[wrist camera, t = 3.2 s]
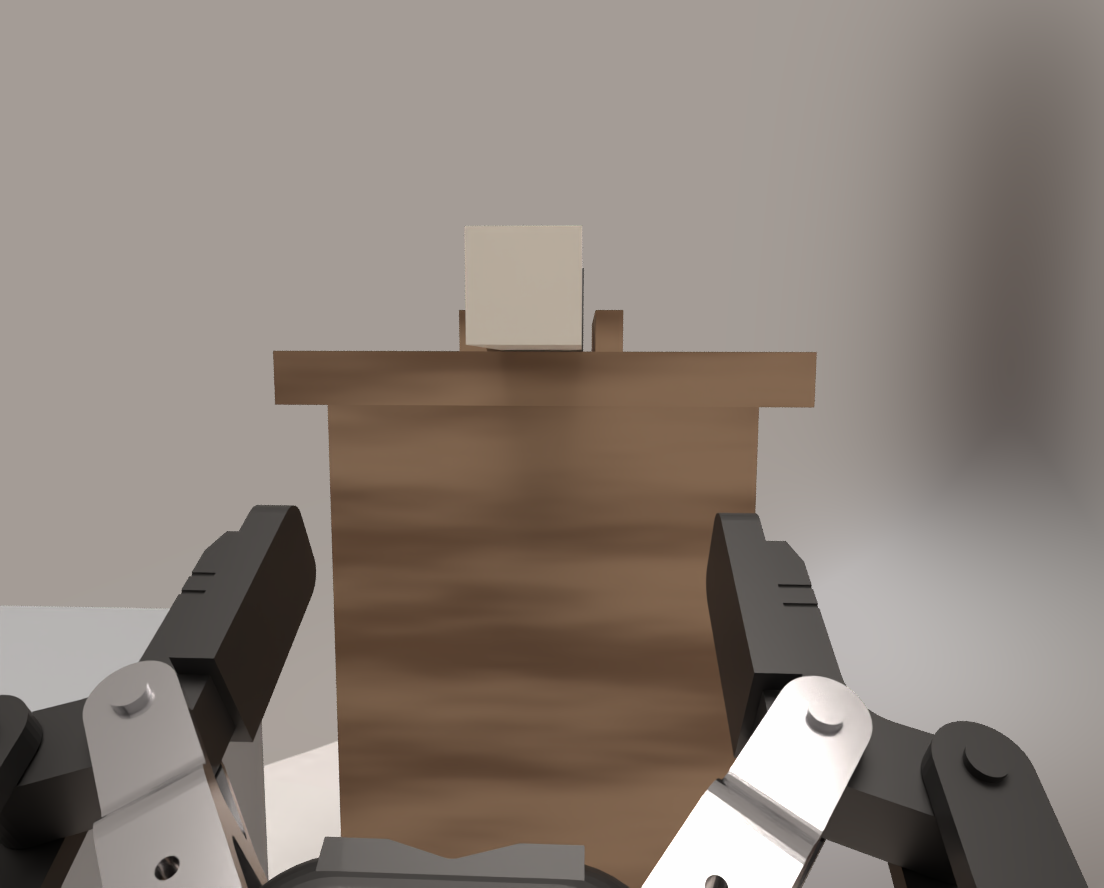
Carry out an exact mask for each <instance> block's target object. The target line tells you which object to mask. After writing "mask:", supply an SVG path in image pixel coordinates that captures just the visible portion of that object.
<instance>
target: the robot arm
mask: <svg viewBox="0 0 1104 888" xmlns="http://www.w3.org/2000/svg"><path fill="white" fill-rule="evenodd" d="M315 580H316V565H315V560H314V556H313V553H312V549H311V546H310V543H309V539H308V536H307V533H306V529H305V526H304V523H303V519H302V516H301V513H300V511H299V509H298V507H296V506H287V505H284V506H283V505H282V506H281V505H256V506H254V507H253V508H252V510H251V511H250V512H249V514H248V516H247V518H246V519H245V521H244V523H243V525H242V527H241V528H240V530H239V532H238V531H237V532H236V531H234V532H233V531H227V532H226V533H224V534H223V535H222V536H221V537H220V538H219V539H217V540H216V541H215V542H214V543H213V544H212V545H211V546H210V547H208V548H207V549H206V550H205V551H204V553H203V554H202V556H201V558H200V559H199V561H198V563H197V565H196V566H195V568H194V570H193V571H192V576H190V577H189V578H188V580H187V581H186V583H185V585H184V587H183V588H182V593H181V594H179V595H178V596H177V598H176V600H175V602H174V603H173V605H172V607H171V608H170V610H169V612H168V613H167V615H166V617H165V618H164V620H163V622H162V623H161V625H160V627H159V628H158V630H157V632H156V633H155V635H154V637H153V639H152V640H151V642H150V644H149V645H148V647H147V649H146V650H145V652H144V654H143V655H142V657H141V659H140V660H139V662H137V663H133V664H130V665H127V666H125V667H122V668H121V669H119V670H117V671H115V672H113V673H112V674H110V675H109V676H107V677H106V678H105V679H104V680H102V681H101V682H100V683H99V684H98V685H97V686H96V687H95V688H94V690H93V691H92V692H91V693H90V695H89V697H87V698H84V699H81V700H77V701H73V702H69V703H65V704H61V705H57V706H53V707H49V708H45V709H41V710H37V711H33V712H31V711H30V709H29V708H28V707H27V705H26V704H25V703H24V702H23V701H22V700H21V699H20V698H18V697H16V696H12V695H0V888H61V886H62V884H63V882H64V880H65V878H66V876H67V874H68V872H69V870H70V868H71V866H72V864H73V862H74V859H75V857H76V855H77V853H78V851H79V849H80V847H81V845H82V843H83V841H84V839H85V837H86V834H87V832H88V830H91V829H93V837H94V843H95V849H96V854H97V860H98V865H99V870H100V876H101V881H102V887H103V888H630V887H628V886H627V885H626V884H624V883H623V882H621V881H619V880H618V879H616V878H615V877H613V876H611V875H609V874H607V873H605V872H603V871H601V870H599V869H597V868H594V867H591V866H588V865H585V864H584V862H585V845H558V844H528V843H519V844H515V845H511V846H507V847H502V848H498V849H494V850H490V851H486V852H482V853H477V854H473V855H469V856H465V857H461V858H455V859H448V858H444V857H441V856H438V855H435V854H432V853H429V852H426V851H423V850H420V849H417V848H414V847H411V846H408V845H405V844H402V843H399V842H396V841H393V840H390V839H377V838H347V837H325V839H324V842H323V846H322V849H321V853H320V856H319V858H315V859H312V860H309V861H306V862H304V863H301V864H298V865H296V866H294V867H292V868H290V869H288V870H286V871H284V872H282V873H280V874H279V875H277V876H275V877H274V878H272V879H271V880H269V881H267V878H266V876H265V873H264V871H263V869H262V867H261V865H260V862H259V860H258V858H257V855H256V853H255V850H254V848H253V845H252V842H251V839H250V836H249V834H248V831H247V828H246V825H245V822H244V819H243V817H242V814H241V811H240V808H239V805H238V802H237V800H236V797H235V794H234V791H233V788H232V786H231V783H230V780H229V777H228V774H227V771H226V769H225V766H224V764H223V762H222V759H223V756H224V754H225V752H226V749H227V747H228V745H229V742H253V741H254V738H255V736H256V733H257V731H258V728H259V726H260V723H261V721H262V718H263V716H264V713H265V711H266V708H267V706H268V703H269V701H270V698H271V696H272V693H273V691H274V688H275V686H276V683H277V681H278V678H279V676H280V673H281V671H282V668H283V666H284V663H285V661H286V658H287V656H288V653H289V651H290V648H291V646H292V643H293V641H294V638H295V636H296V633H297V631H298V628H299V626H300V623H301V621H302V618H303V616H304V613H305V611H306V609H307V606H308V603H309V601H310V598H311V596H312V593H313V590H314V586H315ZM706 595H707V603H708V609H709V615H710V621H711V627H712V632H713V638H714V644H715V650H716V656H717V662H718V667H719V673H720V679H721V685H722V691H723V697H724V702H725V708H726V714H727V720H728V726H729V732H730V737H731V743H732V749H733V755H734V758H737V759H736V761H735V762H734V764H733V766H732V767H731V769H730V770H729V772H728V773H727V774H726V776H725V777H724V778H723V779H720V778H718V779H716V780H715V781H714V782H713V783H712V784H711V785H710V787H709V788H708V789H707V791H706V792H705V793H704V795H703V796H702V798H701V799H700V801H699V802H698V804H697V805H696V807H695V808H694V810H693V811H692V813H691V814H690V816H689V817H688V819H687V820H686V822H685V823H684V825H683V826H682V828H681V829H680V831H679V832H678V834H677V835H676V837H675V838H674V840H673V841H672V843H671V844H670V846H669V847H668V849H667V850H666V852H665V853H664V855H663V856H662V858H661V859H660V861H659V862H658V864H657V865H656V867H655V868H654V870H653V871H652V873H651V874H650V876H649V877H648V879H647V880H646V882H645V883H644V885H643V886H642V888H802V886H803V884H804V882H805V880H806V878H807V876H808V874H809V872H810V870H811V868H812V866H813V864H814V862H815V860H816V858H817V857H818V854H819V853H820V850H821V848H822V847H823V845H824V842H825V841H826V839H827V840H830V841H832V842H835V843H838V844H840V845H843V846H846V847H849V848H851V849H854V850H857V851H859V852H862V853H865V854H868V855H871V856H873V857H876V858H879V859H881V860H884V861H887V862H888V865H889V869H890V873H891V877H892V880H893V884H894V888H1088V886H1087V884H1086V881H1085V879H1084V877H1083V875H1082V873H1081V870H1080V868H1079V866H1078V864H1077V861H1076V859H1075V857H1074V855H1073V853H1072V850H1071V848H1070V846H1069V844H1068V842H1067V839H1066V837H1065V835H1064V833H1063V831H1062V828H1061V826H1060V824H1059V822H1058V819H1057V817H1056V815H1055V813H1054V811H1053V808H1052V806H1051V804H1050V802H1049V800H1048V798H1047V795H1046V793H1045V791H1044V789H1043V786H1042V784H1041V782H1040V780H1039V777H1038V775H1037V773H1036V771H1035V769H1034V767H1033V765H1032V763H1031V762H1030V760H1029V759H1028V757H1027V756H1026V754H1025V753H1024V752H1023V751H1022V750H1021V749H1020V748H1019V747H1018V746H1017V745H1016V744H1015V743H1014V742H1013V741H1012V740H1010V739H1009V738H1008V737H1006V736H1005V735H1003V734H1002V733H1000V732H998V731H996V730H995V729H993V728H990V727H988V726H985V725H982V724H979V723H975V722H968V721H957V722H951V723H949V724H946V725H944V726H943V727H941V728H940V729H939V730H938V731H937V732H936V733H935V735H934V734H930V733H927V732H924V731H921V730H918V729H914V728H911V727H908V726H905V725H901V724H898V723H895V722H892V721H890V720H887V719H885V718H883V717H880V716H878V715H876V714H875V713H873V712H871V711H870V710H869V709H867V707H866V706H865V704H864V703H863V701H862V700H861V699H860V698H859V697H858V696H857V695H856V694H855V693H854V692H853V691H852V690H851V689H849V688H848V687H847V686H846V685H845V683H844V681H843V678H842V676H841V673H840V670H839V667H838V664H837V661H836V658H835V655H834V652H833V649H832V646H831V643H830V640H829V637H828V633H827V631H826V627H825V624H824V621H823V619H822V615H821V612H820V609H819V608H818V606H817V605H818V603H817V600H816V597H815V594H814V591H813V589H812V588H811V582H810V579H809V576H808V573H807V570H806V566H805V563H804V561H803V560H802V559H801V558H800V557H799V556H798V554H797V553H796V552H795V551H794V550H793V549H792V548H791V546H790V545H789V544H788V543H787V542H786V541H766V540H765V537H764V533H763V529H762V526H761V522H760V519H759V516H758V515H757V514H756V513H717V514H716V516H715V519H714V525H713V532H712V538H711V544H710V551H709V557H708V564H707V571H706Z"/></svg>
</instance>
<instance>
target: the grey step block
mask: <svg viewBox="0 0 1104 888" xmlns="http://www.w3.org/2000/svg"><path fill="white" fill-rule="evenodd" d="M169 610H170V609H162V608H103V607H102V608H101V607H46V606H0V695H12V696H16V697H18V698H20V699H21V700H22V701H23V702H24V703H25V704H26V705H27V707H28V708H29V709H30V711H31V712H33V711H37V710H41V709H45V708H49V707H53V706H57V705H61V704H65V703H69V702H73V701H77V700H81V699H84V698H87V697H89V695H90V693H91V692H92V691H93V690H94V688H95V687H96V686H97V685H98V684H99V683H100V682H101V681H102V680H104V679H105V678H106V677H107V676H109V675H110V674H112V673H113V672H115V671H117V670H119V669H121V668H122V667H125V666H127V665H130V664H133V663H137V662H139V660H140V659H141V657H142V655H143V654H144V652H145V650H146V649H147V647H148V645H149V644H150V642H151V640H152V639H153V637H154V635H155V633H156V632H157V630H158V628H159V627H160V625H161V623H162V622H163V620H164V618H165V617H166V615H167V613H168V612H169ZM262 744H263V743H262V721H261V723H260V726H259V728H258V731H257V733H256V736H255V738H254V741H253V742H229V745H228V747H227V749H226V752H225V754H224V756H223V759H222V762H223V764H224V766H225V769H226V771H227V774H228V777H229V780H230V783H231V786H232V788H233V791H234V794H235V797H236V800H237V802H238V805H239V808H240V811H241V814H242V817H243V819H244V822H245V825H246V828H247V831H248V834H249V836H250V839H251V842H252V845H253V848H254V850H255V853H256V855H257V858H258V860H259V862H260V865H261V867H262V869H263V871H264V873H265V876H266V878H267V881H268V859H267V836H266V813H265V790H264V767H263V745H262ZM61 888H103V887H102V881H101V876H100V870H99V865H98V860H97V854H96V849H95V843H94V837H93V829H91V830H88V832H87V834H86V837H85V839H84V841H83V843H82V845H81V847H80V849H79V851H78V853H77V855H76V857H75V859H74V862H73V864H72V866H71V868H70V870H69V872H68V874H67V876H66V878H65V880H64V882H63V884H62V886H61Z"/></svg>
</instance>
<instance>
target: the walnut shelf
mask: <svg viewBox="0 0 1104 888" xmlns="http://www.w3.org/2000/svg"><path fill="white" fill-rule="evenodd" d="M459 327H460V328H459V329H460V330H459V332H460V333H459V334H460V335H459V336H460V351H273V359H274V385H275V404H284V405H287V404H288V405H296V404H297V405H328V429H329V461H330V494H331V527H332V559H333V591H334V623H335V654H336V685H337V687H336V688H337V719H338V753H339V785H340V817H341V837H347V838H377V839H390V840H393V841H396V842H399V843H402V844H405V845H408V846H411V847H414V848H417V849H420V850H423V851H426V852H429V853H432V854H435V855H438V856H441V857H444V858H448V859H455V858H461V857H465V856H469V855H473V854H477V853H482V852H486V851H490V850H494V849H498V848H502V847H507V846H511V845H515V844H519V843H528V844H558V845H585V862H584V864H585V865H588V866H591V867H594V868H597V869H599V870H601V871H603V872H605V873H607V874H609V875H611V876H613V877H615V878H616V879H618V880H619V881H621V882H623V883H624V884H626V885H627V886H628V887H630V888H642V886H643V885H644V883H645V882H646V880H647V879H648V877H649V876H650V874H651V873H652V871H653V870H654V868H655V867H656V865H657V864H658V862H659V861H660V859H661V858H662V856H663V855H664V853H665V852H666V850H667V849H668V847H669V846H670V844H671V843H672V841H673V840H674V838H675V837H676V835H677V834H678V832H679V831H680V829H681V828H682V826H683V825H684V823H685V822H686V820H687V819H688V817H689V816H690V814H691V813H692V811H693V810H694V808H695V807H696V805H697V804H698V802H699V801H700V799H701V798H702V796H703V795H704V793H705V792H706V791H707V789H708V788H709V787H710V785H711V784H712V783H713V782H714V781H715V780H716V779H718V778H720V779H723V778H724V777H725V776H726V774H727V773H728V772H729V770H730V769H731V767H732V766H733V764H734V762H735V761H736V759H737V758H734V755H733V749H732V743H731V737H730V732H729V726H728V720H727V714H726V708H725V702H724V697H723V691H722V685H721V679H720V673H719V667H718V662H717V656H716V650H715V644H714V638H713V632H712V627H711V621H710V615H709V609H708V603H707V595H706V571H707V564H708V557H709V551H710V544H711V538H712V532H713V525H714V519H715V516H716V514H717V513H755V505H756V475H757V447H758V418H759V407H814V402H815V379H816V354H817V353H816V352H623V310H596V311H595V315H594V319H593V323H592V352H527V351H501V350H497V349H490V348H484V347H478V346H471V345H466V312H465V310H459Z"/></svg>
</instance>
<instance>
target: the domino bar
mask: <svg viewBox="0 0 1104 888" xmlns="http://www.w3.org/2000/svg"><path fill="white" fill-rule="evenodd" d="M583 278H584V268H582V225H577V226H576V225H574V226H465V308H466V310H465V312H466V345H471V346H478V347H484V348H490V349H497V350H501V351H527V352H583V284H584V280H583Z"/></svg>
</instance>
